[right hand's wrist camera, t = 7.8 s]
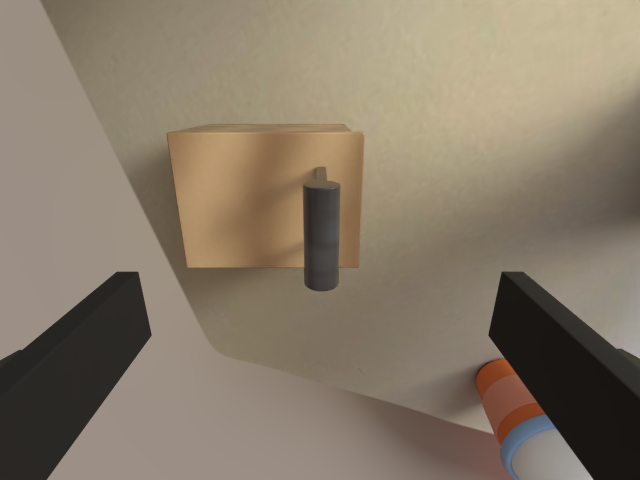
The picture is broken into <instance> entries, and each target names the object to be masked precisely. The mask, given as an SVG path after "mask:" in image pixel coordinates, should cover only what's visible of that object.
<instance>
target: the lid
mask: <svg viewBox="0 0 640 480" xmlns="http://www.w3.org/2000/svg"><path fill="white" fill-rule="evenodd" d="M364 135H365V134H364V133H363V132H362V131H304V132H168V133H167V139H168V146H169V152H170V159H171V165H172V172H173V178H174V185H175V191H176V198H177V204H178V211H179V217H180V224H181V230H182V237H183V243H184V250H185V256H186V263H187V268H304V283H305V285H306V287H308V288H309V289H311V290H315V291H328V290H332V289H334V288H335V287H337V285H338V280H339V268H358V267H359V247H360V225H361V203H362V180H363V158H364Z"/></svg>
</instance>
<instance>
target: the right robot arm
mask: <svg viewBox="0 0 640 480" xmlns="http://www.w3.org/2000/svg"><path fill="white" fill-rule="evenodd" d="M150 337H151V330H150V325H149V321H148V316H147V311H146V307H145V302H144V297H143V292H142V288H141V283H140V278H139V273H138V272H116V273H115V274H114V275H112V276H111V277H110V278H109V279H108V280H106V281H105V282H104V283H103V284H102V285H100V286H99V287H98V288H97V289H96V290H94V291H93V292H92V293H91V294H89V295H88V296H87V297H86V298H85V299H83V300H82V301H81V302H80V303H79V304H77V305H76V306H75V307H74V308H73V309H71V310H70V311H69V312H68V313H67V314H65V315H64V316H63V317H62V318H60V319H59V320H58V321H57V322H56V323H55V324H53V325H52V326H51V327H50V328H48V329H47V330H46V331H45V332H44V333H42V334H41V335H40V336H39V337H38V338H36V339H35V340H34V341H33V342H31V343H30V344H29V345H28V346H27V347H25V348H24V349H23V350H18V351H16V352H15V353H13V354H11V355H9V356H7V357H5V358H4V359H2V360H0V480H47V478H48V477H49V476H50V474H51V473H52V471H53V470H54V469H55V467H56V466H57V465H58V463H59V462H60V461H61V459H62V458H63V456H64V455H65V454H66V452H67V451H68V450H69V448H70V447H71V445H72V444H73V443H74V441H75V440H76V439H77V437H78V436H79V434H80V433H81V432H82V430H83V429H84V428H85V426H86V425H87V423H88V422H89V421H90V419H91V418H92V417H93V415H94V414H95V412H96V411H97V410H98V408H99V407H100V406H101V404H102V403H103V401H104V400H105V399H106V397H107V396H108V395H109V393H110V392H111V390H112V389H113V388H114V386H115V385H116V384H117V382H118V381H119V379H120V378H121V377H122V375H123V374H124V373H125V371H126V370H127V368H128V367H129V366H130V364H131V363H132V362H133V360H134V359H135V357H136V356H137V355H138V353H139V352H140V351H141V349H142V348H143V346H144V345H145V344H146V342H147V341H148V340H149V338H150ZM489 337H490V338H491V340H492V341H493V342H494V344H495V345H496V346H497V348H498V349H499V351H500V352H501V353H502V355H503V356H504V357H505V359H506V360H507V362H508V363H509V364H510V366H511V367H512V368H513V370H514V371H515V373H516V374H517V375H518V377H519V378H520V379H521V381H522V382H523V384H524V385H525V386H526V388H527V389H528V390H529V392H530V393H531V395H532V396H533V397H534V399H535V400H536V401H537V403H538V404H539V406H540V407H541V408H542V410H543V411H544V412H545V414H546V415H547V417H548V418H549V419H550V421H551V422H552V423H553V425H554V426H555V428H556V429H557V430H558V432H559V433H560V434H561V436H562V437H563V439H564V440H565V441H566V443H567V444H568V445H569V447H570V448H571V450H572V451H573V452H574V454H575V455H576V456H577V458H578V459H579V461H580V462H581V463H582V465H583V466H584V467H585V469H586V470H587V472H588V473H589V474H590V476H591V477H592V478H593V480H640V359H639V358H637V357H636V356H634V355H632V354H630V353H628V352H626V351H624V350H623V349H616V348H615V347H613V346H612V345H611V344H610V343H609V342H607V341H606V340H605V339H604V338H603V337H601V336H600V335H599V334H598V333H596V332H595V331H594V330H593V329H592V328H590V327H589V326H588V325H587V324H586V323H584V322H583V321H582V320H581V319H580V318H578V317H577V316H576V315H575V314H573V313H572V312H571V311H570V310H569V309H567V308H566V307H565V306H564V305H563V304H561V303H560V302H559V301H558V300H557V299H555V298H554V297H553V296H552V295H551V294H549V293H548V292H547V291H546V290H544V289H543V288H542V287H541V286H540V285H538V284H537V283H536V282H535V281H534V280H532V279H531V278H530V277H529V276H528V275H526V274H525V273H524V272H502V273H501V278H500V283H499V287H498V292H497V297H496V302H495V306H494V311H493V316H492V321H491V325H490V330H489Z"/></svg>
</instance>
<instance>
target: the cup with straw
mask: <svg viewBox="0 0 640 480" xmlns="http://www.w3.org/2000/svg"><path fill="white" fill-rule="evenodd" d="M476 386H477V389H478V391H479V394H480V396H481V398H482V401H483V407H484V410H485V412H486V415H487V417H488V419H489V422H490V424H491V427H492V429H493V431H494V434H495V436H496V439H497V441H498V443H499V444H500V446H501V449H500V456H501V461H502V463H503V466H504V468H505V469H506V471H507V472H508V473H509V475H510V476H511V477H512V478H513V479H515V480H593V478H592V477H591V476H590V474H589V473H588V472H587V470H586V469H585V467H584V466H583V465H582V463H581V462H580V461H579V459H578V458H577V456H576V455H575V454H574V452H573V451H572V450H571V448H570V447H569V445H568V444H567V443H566V441H565V440H564V439H563V437H562V436H561V434H560V433H559V432H558V430H557V429H556V428H555V426H554V425H553V423H552V422H551V421H550V419H549V418H548V417H547V415H546V414H545V412H544V411H543V410H542V408H541V407H540V406H539V404H538V403H537V401H536V400H535V399H534V397H533V396H532V395H531V393H530V392H529V390H528V389H527V388H526V386H525V385H524V384H523V382H522V381H521V379H520V378H519V377H518V375H517V374H516V373H515V371H514V370H513V368H512V367H511V366H510V364H509V363H508V362H507V360H506V359H499V360H495V361H492V362H490V363H488V364H487V365H485V366H484V367H483V368H482V369H481V370H480V371H479V373H478V375H477V378H476Z"/></svg>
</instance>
